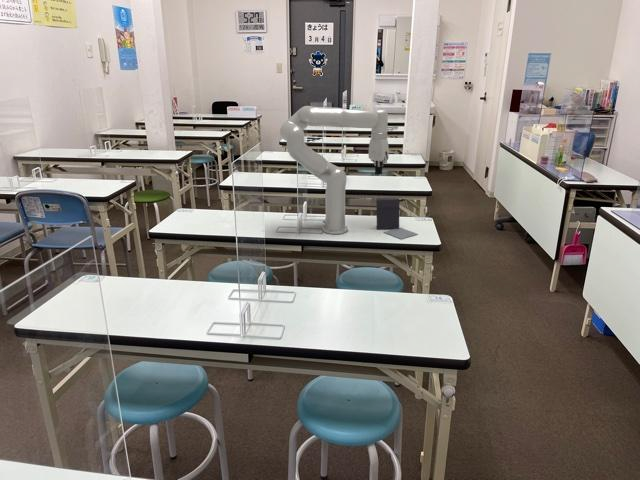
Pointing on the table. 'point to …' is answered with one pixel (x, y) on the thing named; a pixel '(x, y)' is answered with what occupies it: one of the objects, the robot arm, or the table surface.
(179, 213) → the table surface
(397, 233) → the mat
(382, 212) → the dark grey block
